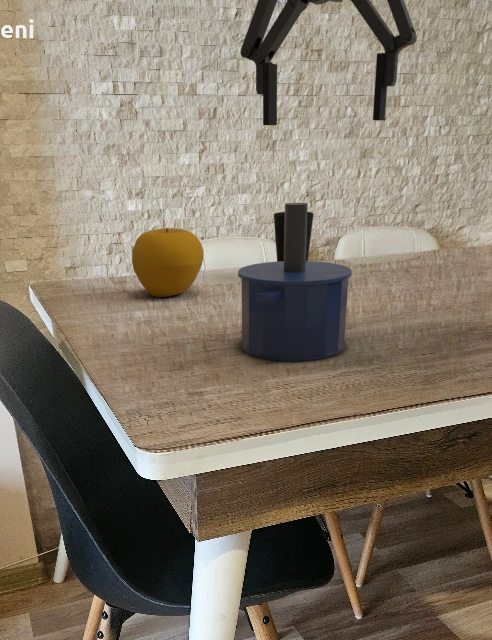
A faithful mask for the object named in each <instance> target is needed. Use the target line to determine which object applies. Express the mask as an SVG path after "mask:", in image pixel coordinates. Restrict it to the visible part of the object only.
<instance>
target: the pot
mask: <svg viewBox="0 0 492 640" xmlns="http://www.w3.org/2000/svg"><path fill="white" fill-rule="evenodd" d="M348 289H349V278H348V279H345V280H343V281H339V282H334V283H328V284H319V285H302V286H286V285H269V284H260V283H254V282H249V281H246V280H243V279H241V346H242V349H243V350H244V352H245V353H247V354H248V355H251V356H253V357H256V358H259V359H264V360H271V361H278V362H308V361H309V362H311V361H316V360H322V359H327V358H331V357H334V356H336V355H338V354H340V353H341V352H342V351H343V350H344V346H345V338H346V337H345V336H346V323H347V322H346V321H347V305H348Z"/></svg>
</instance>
